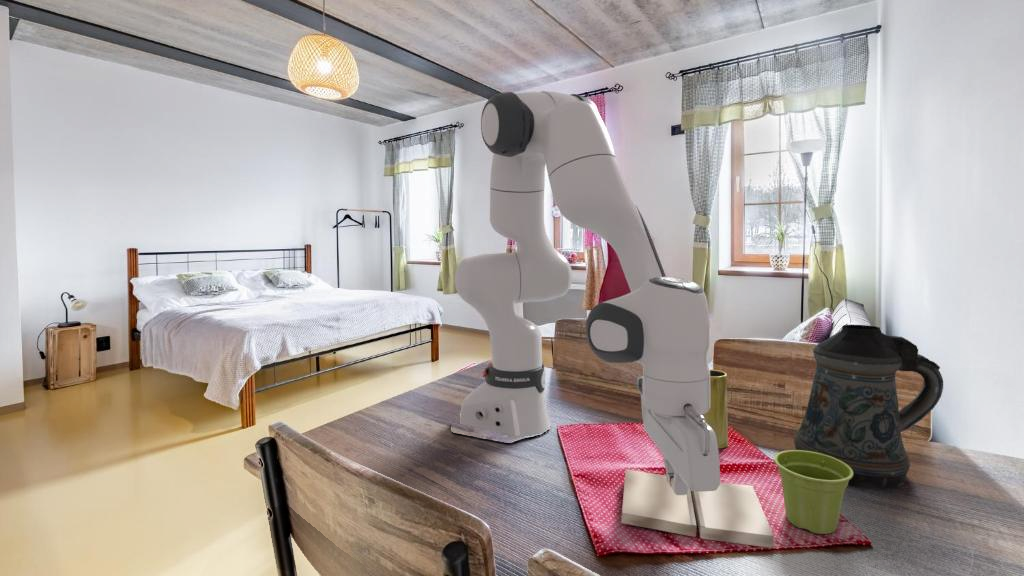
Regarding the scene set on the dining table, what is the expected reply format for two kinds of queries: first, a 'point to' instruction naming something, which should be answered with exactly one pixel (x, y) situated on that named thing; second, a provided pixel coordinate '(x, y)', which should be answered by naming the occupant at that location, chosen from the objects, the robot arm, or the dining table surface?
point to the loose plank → (656, 504)
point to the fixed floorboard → (732, 516)
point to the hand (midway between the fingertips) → (676, 488)
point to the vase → (718, 407)
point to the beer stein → (865, 404)
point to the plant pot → (812, 488)
